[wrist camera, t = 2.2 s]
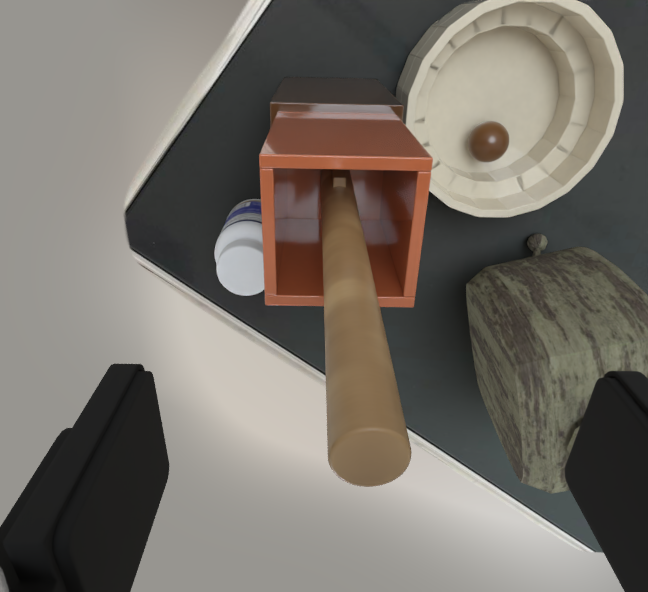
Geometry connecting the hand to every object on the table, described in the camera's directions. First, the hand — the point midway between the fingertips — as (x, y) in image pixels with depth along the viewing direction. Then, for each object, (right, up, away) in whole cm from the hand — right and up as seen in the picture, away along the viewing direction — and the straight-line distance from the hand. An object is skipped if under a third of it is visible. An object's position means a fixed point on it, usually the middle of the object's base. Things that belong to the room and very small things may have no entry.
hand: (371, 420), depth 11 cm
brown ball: (+11, +14, +27) cm, 32 cm away
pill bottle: (-7, +9, +32) cm, 34 cm away
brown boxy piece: (-1, +16, +28) cm, 32 cm away
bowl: (+11, +18, +27) cm, 34 cm away
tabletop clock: (+16, +3, +36) cm, 40 cm away
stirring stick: (0, +9, +16) cm, 19 cm away
